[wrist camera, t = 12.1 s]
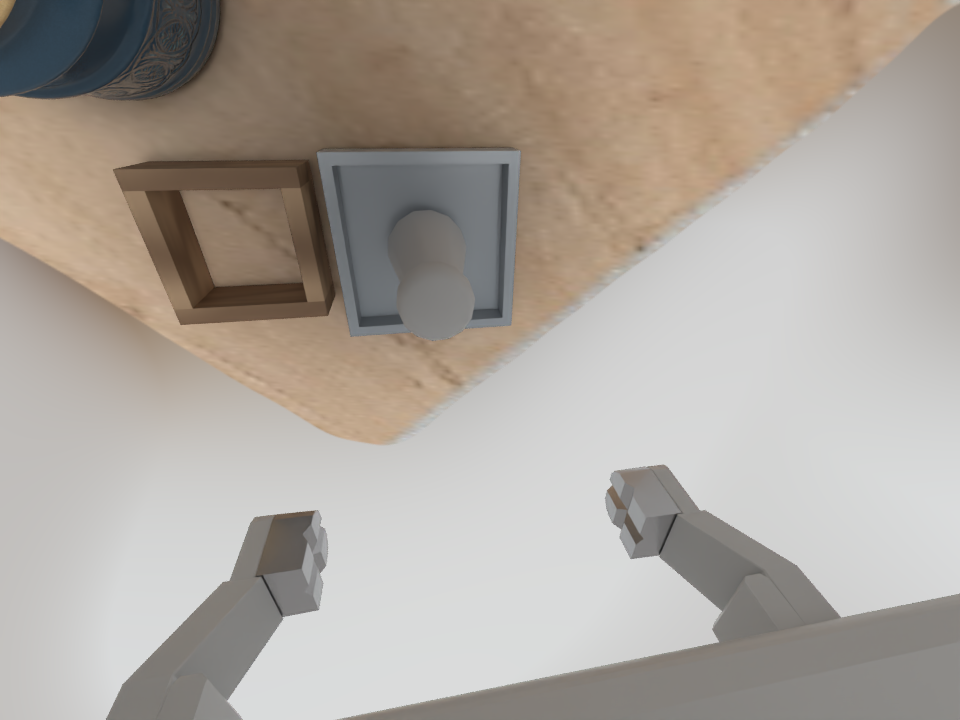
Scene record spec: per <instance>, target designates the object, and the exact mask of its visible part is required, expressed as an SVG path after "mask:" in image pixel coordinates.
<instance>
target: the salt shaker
mask: <svg viewBox="0 0 960 720" xmlns="http://www.w3.org/2000/svg"><path fill="white" fill-rule="evenodd" d="M465 254H466V244H465V241H464V238H463V235H462V232H461V230H460V228H459V227H458V226H457V225H456V224H455V223H454V222H453V221H452V219H451V218H450V217H449V216H446V215H444V214H441V213H438V212H435V211H433V210H423V211H413V212H411V213H410V214H408V215H407V216H405V217H404V218H402V219H401V220H399V221H398V222H397V224H396V225H395V227H394V229H393V230H392V232H391V234H390V235H389V237H388V257H389V259H390V261H391V264H392V266H393V269H394V271H395V273H396V275H397V277H398V279H399V281H400V284H399V286H398V289H397V305H396V307H397V310H398V312H399V315H400V317H401V319H402V322H403V324H404V326H405V327H406V328H407V329H408V330H410V331H411V332H412V333H413V334H415V335H416V336H417V337H421V338H424V339H428V340H431V341H436V340H443V339H449V338H451V337H453V336H455V335H456V334H458V333H460V332H462V331H463V330H464V328H465V327H466V326H467V324H468V323H469V321H470V320H471V319H472V314H473V309H474V304H475V297H474V294H473V291H472V288H471V285H470V282H469V280H468V279H467V278H466V277H465V276H464V275H463V270H464V262H465Z"/></svg>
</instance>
